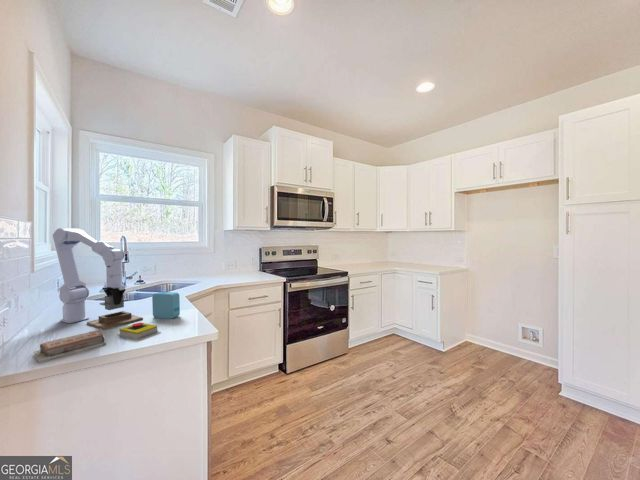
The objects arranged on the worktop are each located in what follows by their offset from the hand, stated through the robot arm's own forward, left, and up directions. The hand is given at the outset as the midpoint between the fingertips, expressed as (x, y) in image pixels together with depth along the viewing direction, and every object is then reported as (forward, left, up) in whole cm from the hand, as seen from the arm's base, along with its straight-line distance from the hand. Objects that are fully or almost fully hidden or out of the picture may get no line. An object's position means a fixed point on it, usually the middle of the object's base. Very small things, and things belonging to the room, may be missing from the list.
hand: (115, 303), depth 130 cm
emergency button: (+26, -3, -9) cm, 28 cm away
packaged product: (+21, -23, -9) cm, 33 cm away
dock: (0, 0, -9) cm, 9 cm away
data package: (+14, +16, -9) cm, 23 cm away
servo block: (0, 0, -2) cm, 2 cm away
